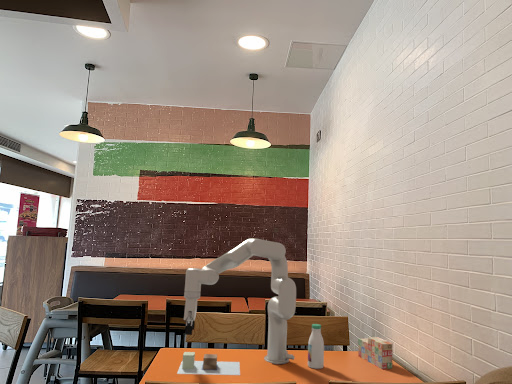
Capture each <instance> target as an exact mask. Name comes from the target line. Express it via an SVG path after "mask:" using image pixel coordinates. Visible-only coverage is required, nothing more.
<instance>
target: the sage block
mask: <svg viewBox="0 0 512 384" xmlns="http://www.w3.org/2000/svg"><path fill="white" fill-rule="evenodd" d="M195 356H196V352H195V351H184V352H183V353H182V361H183V364H182V369H193V368H194V361H196V359H195Z"/></svg>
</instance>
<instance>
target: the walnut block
mask: <svg viewBox="0 0 512 384" xmlns="http://www.w3.org/2000/svg"><path fill="white" fill-rule="evenodd" d="M202 361H203V369H209V370H216V367H217V361H218V353H216V354H215V353H214V354H212V353H204V355H203V360H202Z"/></svg>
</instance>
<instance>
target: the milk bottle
mask: <svg viewBox="0 0 512 384" xmlns="http://www.w3.org/2000/svg"><path fill="white" fill-rule="evenodd" d="M321 330H322V325H321V324H319V323H312V324H311V334H310V335H309V339H308V346H307V366H308V367H309V368H311V369H317V370H320V369H323V368H324V364H325V363H324V362H325V361H324V360H325V358H324V356H325V343H324V338H323V335H322V331H321Z"/></svg>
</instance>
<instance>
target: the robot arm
mask: <svg viewBox="0 0 512 384" xmlns="http://www.w3.org/2000/svg"><path fill="white" fill-rule="evenodd" d="M286 252H287V251H286V247H285V245H284V244H283V243H280V242H276V241H270V240H266V239H260V238H251V237H250V238H248V239H246V240H244V241H243V242H242V243H240V244H239V245H237V246H236V247H234V248H233V249H231V250H229V251H227V252H226V253H223V255H221V256H219V257H217V258H215V259H214V260H212V261H211V262H209V263H207V264H206V265H205V266H203V267H202V268H194V267H193V268H192V267H191V268H190V267H189V268H187V269H186V271H185V280H184V282H185V284H184V293H183V294H184V295H183V298H184V299H185V304H184V314H183V321H185V326H184V328H185V329H184V335H187V336H192V335H193V330H195V325H196V324H195V323H196V321H195V319H196V316H197V311H198V310H197V309H198V300H199V299H201V292H202V291H201V289H202V285H208V286H210V285H211V286H212V285H215V284H216V283H217V282H218V281H219V279H220V275H219V274H221V273H223V272H225V271H228V270H232V269H236V268H239V267H240V266H241V265H242V264H244V263H245V262H246V261H248V260H249V259H250V258H252V257H253V256H254V257H261V258H265V259H268V261H269V262H270V266H271V277H270V289H271V292H273V293H274V294H276V295H278V296H273V297H271V298H270V299H269V301H268V303H267V315H268V317H267V319H268V325H267V326H268V328H267V329H268V331H267V354H266V355H265V356H264V357H263V358H264V361H265V362H267V363H271V364H272V365H285V364H287V363H289V362H290V360H292V361H294V360H295V355H294V354H291V353H290V354H289V351H288V350H287V337H288V332H287V331H288V321H287V320H290V319H291V318H293V316H294V315H295V313H296V309H297V308H296V306H297V286H296V283H295V281H294V280H293V279H292V278H291V277H289V274H288V272H289V271H288V270H289V269H288V266H289V264H288V261H287V258H286V256H285V255H286Z"/></svg>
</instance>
